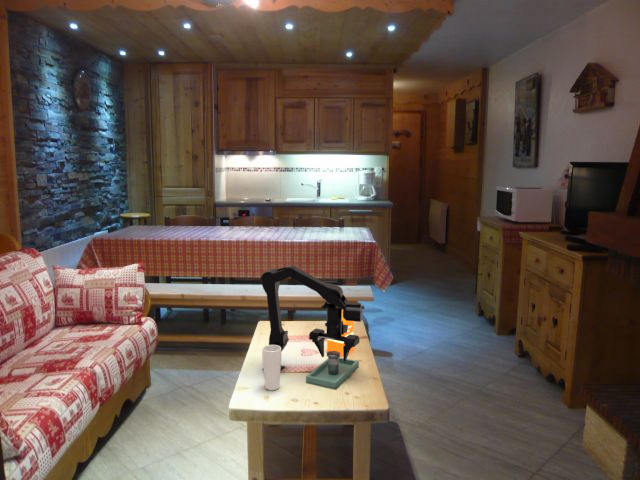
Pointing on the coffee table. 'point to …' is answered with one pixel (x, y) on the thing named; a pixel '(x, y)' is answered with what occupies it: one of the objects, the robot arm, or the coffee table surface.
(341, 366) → the tray
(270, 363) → the drinking glass
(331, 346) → the orange juice
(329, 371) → the grey flanged cylinder
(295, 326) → the coffee table surface
